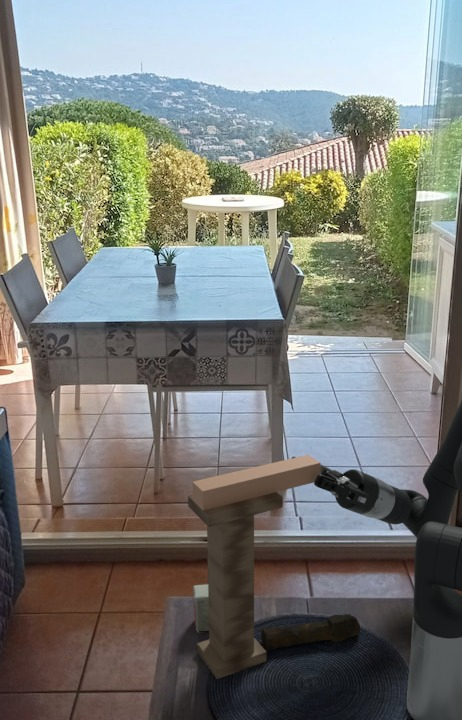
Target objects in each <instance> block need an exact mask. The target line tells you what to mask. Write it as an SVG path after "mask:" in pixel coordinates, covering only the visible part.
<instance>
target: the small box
mask: <svg viewBox="0 0 462 720" xmlns="http://www.w3.org/2000/svg"><path fill="white" fill-rule="evenodd" d="M193 606H194V607H193V609H194V612H193V613H194V614H193V615H194V626H195V627H196V628H195V632H196V631H209V599H208V583H205V584H197V585H196V584H195V585H193Z"/></svg>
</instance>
